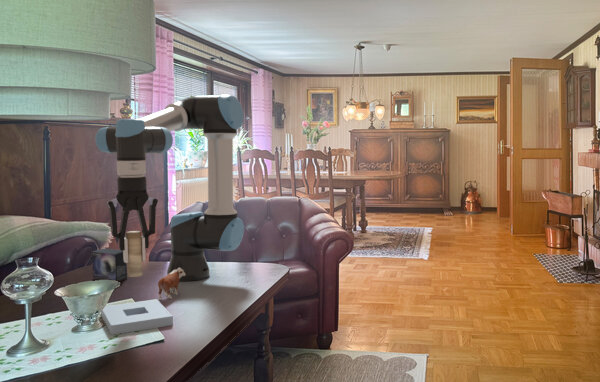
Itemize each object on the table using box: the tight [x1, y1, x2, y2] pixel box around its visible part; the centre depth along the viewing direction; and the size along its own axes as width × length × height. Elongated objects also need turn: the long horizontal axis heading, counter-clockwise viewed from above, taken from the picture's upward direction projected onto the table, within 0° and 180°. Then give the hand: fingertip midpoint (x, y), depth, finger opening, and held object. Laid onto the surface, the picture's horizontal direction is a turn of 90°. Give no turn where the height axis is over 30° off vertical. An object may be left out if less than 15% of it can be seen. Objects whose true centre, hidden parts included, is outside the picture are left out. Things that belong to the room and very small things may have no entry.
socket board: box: [100, 298, 174, 336], centre depth 158 cm, size 18×16×2 cm
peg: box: [125, 230, 143, 278], centre depth 157 cm, size 4×4×12 cm
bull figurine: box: [157, 268, 186, 301], centre depth 182 cm, size 4×13×8 cm, turn 161°
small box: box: [91, 247, 128, 282], centre depth 203 cm, size 11×6×10 cm, turn 68°
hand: (134, 260), depth 157 cm, fingers closed on peg, 4 cm apart
